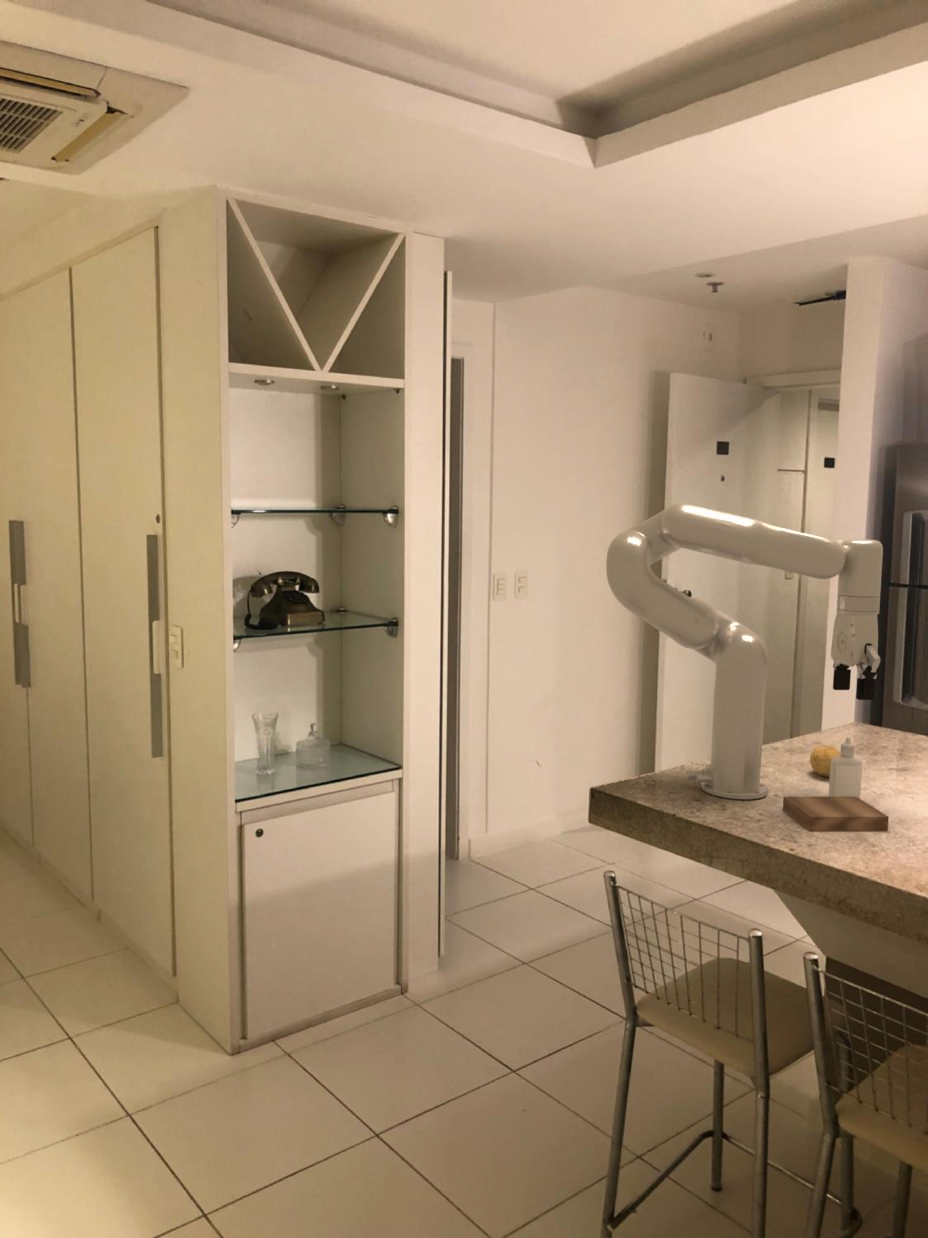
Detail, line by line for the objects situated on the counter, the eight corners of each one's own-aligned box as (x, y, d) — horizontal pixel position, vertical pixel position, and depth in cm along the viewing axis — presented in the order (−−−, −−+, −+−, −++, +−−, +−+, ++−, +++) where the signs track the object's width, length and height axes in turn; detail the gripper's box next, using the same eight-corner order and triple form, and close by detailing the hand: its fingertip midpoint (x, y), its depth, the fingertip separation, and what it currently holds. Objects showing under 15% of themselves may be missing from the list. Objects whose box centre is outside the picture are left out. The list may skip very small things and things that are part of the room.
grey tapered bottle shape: (858, 803, 194) (863, 741, 192) (827, 799, 196) (831, 738, 195) (860, 798, 198) (864, 737, 196) (829, 793, 200) (833, 733, 199)
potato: (806, 779, 210) (808, 749, 210) (811, 767, 220) (813, 738, 220) (841, 784, 208) (843, 753, 207) (844, 771, 218) (846, 742, 217)
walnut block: (809, 833, 177) (811, 817, 176) (782, 812, 189) (783, 796, 188) (887, 833, 178) (888, 816, 178) (855, 812, 190) (856, 796, 190)
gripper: (819, 600, 201) (814, 686, 203) (860, 609, 184) (854, 703, 186) (856, 600, 201) (851, 686, 203) (900, 610, 184) (894, 703, 186)
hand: (852, 694), depth 194 cm, fingers open, 9 cm apart
